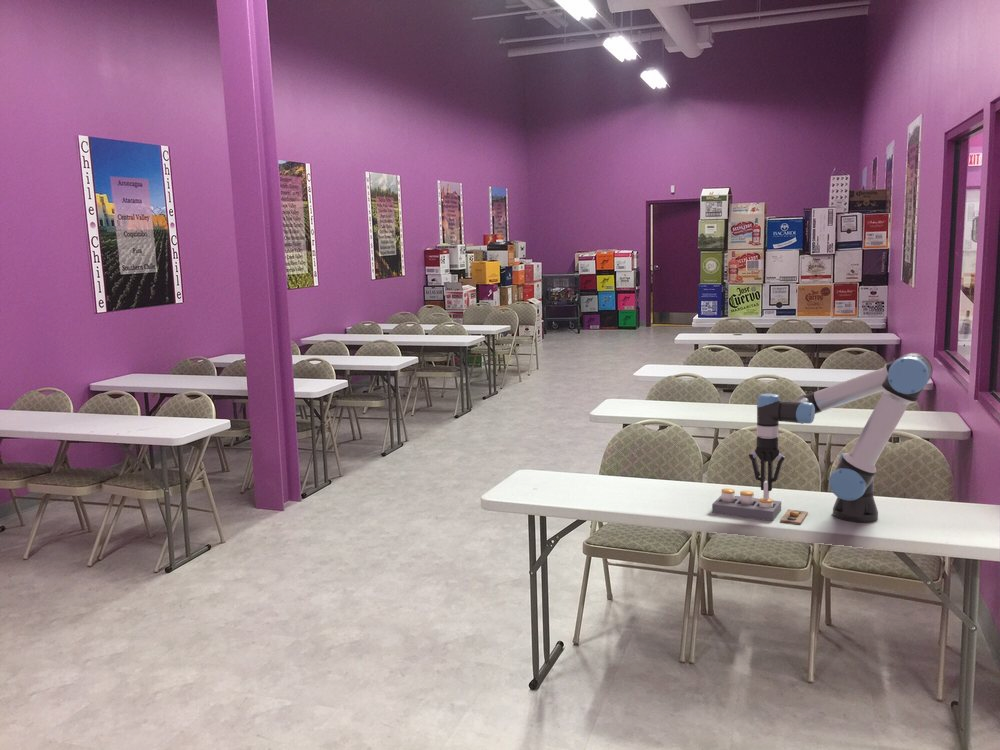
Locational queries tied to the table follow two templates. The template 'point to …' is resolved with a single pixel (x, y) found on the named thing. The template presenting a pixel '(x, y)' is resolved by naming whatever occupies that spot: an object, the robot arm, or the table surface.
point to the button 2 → (766, 503)
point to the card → (794, 516)
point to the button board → (746, 509)
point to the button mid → (747, 498)
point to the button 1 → (728, 495)
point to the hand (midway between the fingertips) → (766, 498)
